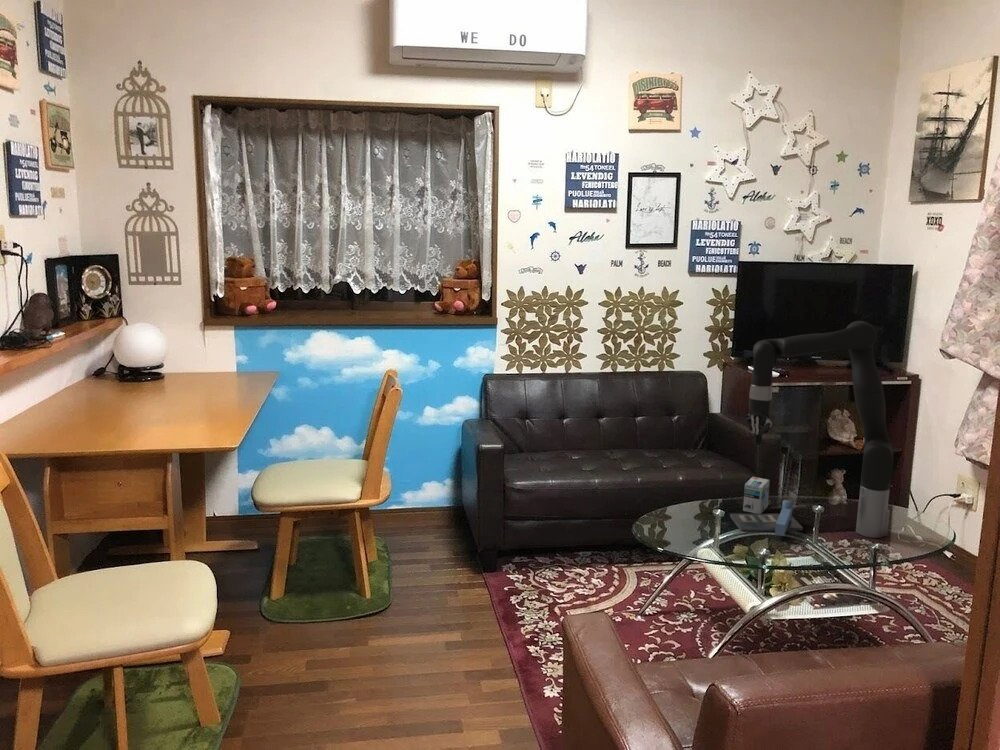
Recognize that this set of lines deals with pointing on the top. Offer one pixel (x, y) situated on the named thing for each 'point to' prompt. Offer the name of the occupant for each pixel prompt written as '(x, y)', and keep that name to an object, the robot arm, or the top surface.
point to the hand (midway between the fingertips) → (757, 443)
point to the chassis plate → (762, 522)
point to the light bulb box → (756, 495)
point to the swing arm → (784, 517)
